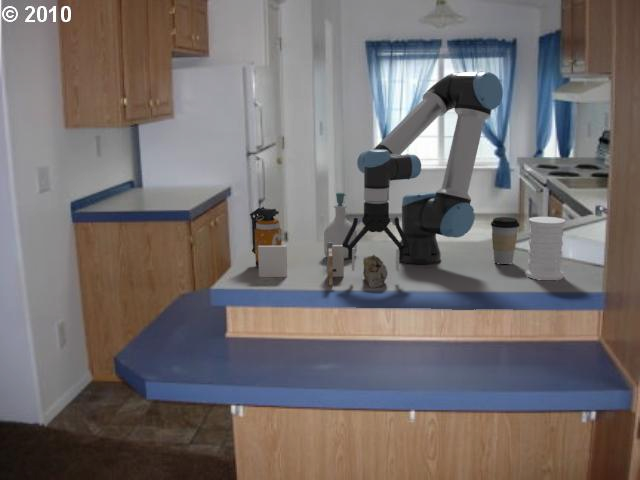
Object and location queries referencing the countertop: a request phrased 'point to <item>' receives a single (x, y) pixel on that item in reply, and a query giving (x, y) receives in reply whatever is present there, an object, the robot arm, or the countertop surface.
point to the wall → (276, 260)
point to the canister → (265, 229)
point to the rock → (374, 271)
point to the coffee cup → (504, 239)
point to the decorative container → (545, 248)
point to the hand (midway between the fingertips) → (375, 269)
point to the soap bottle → (339, 227)
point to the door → (330, 267)
